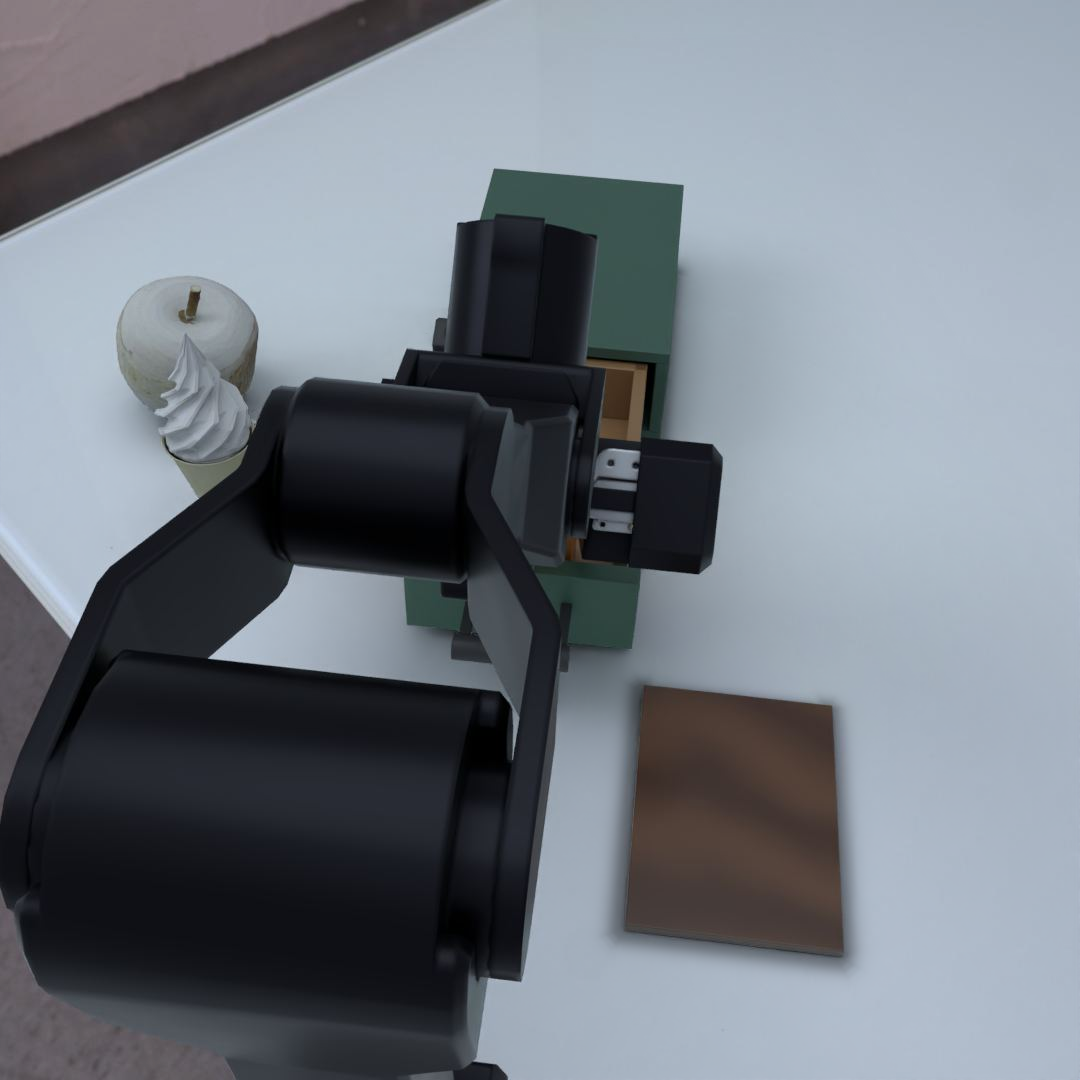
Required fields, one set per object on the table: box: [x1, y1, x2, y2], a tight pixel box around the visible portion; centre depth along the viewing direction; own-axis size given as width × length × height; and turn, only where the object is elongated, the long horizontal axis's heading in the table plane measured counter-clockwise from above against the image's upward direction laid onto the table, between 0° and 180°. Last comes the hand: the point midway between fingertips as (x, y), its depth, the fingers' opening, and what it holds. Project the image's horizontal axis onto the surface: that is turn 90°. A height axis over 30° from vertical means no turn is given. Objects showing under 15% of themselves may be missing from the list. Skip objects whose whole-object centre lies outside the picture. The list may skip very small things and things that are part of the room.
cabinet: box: [479, 167, 685, 441], centre depth 89 cm, size 20×14×7 cm
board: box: [623, 684, 845, 958], centre depth 65 cm, size 14×10×1 cm
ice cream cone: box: [154, 333, 255, 499], centre depth 72 cm, size 5×5×15 cm
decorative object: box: [115, 275, 260, 419], centre depth 82 cm, size 9×9×10 cm
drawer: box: [403, 358, 648, 673], centre depth 74 cm, size 23×12×5 cm, turn 173°
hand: (533, 494), depth 71 cm, fingers closed on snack, 5 cm apart
